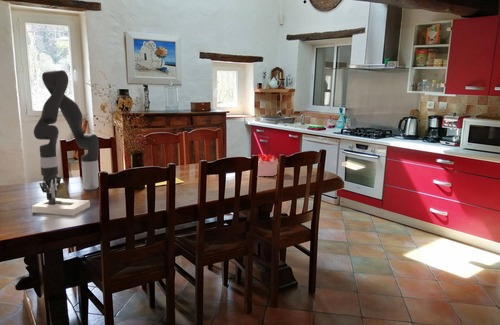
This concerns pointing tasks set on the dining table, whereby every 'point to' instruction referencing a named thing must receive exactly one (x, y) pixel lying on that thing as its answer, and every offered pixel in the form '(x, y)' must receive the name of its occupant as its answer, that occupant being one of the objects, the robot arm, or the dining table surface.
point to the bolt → (53, 201)
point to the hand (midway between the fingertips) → (51, 198)
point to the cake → (267, 165)
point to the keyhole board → (62, 207)
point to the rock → (62, 191)
